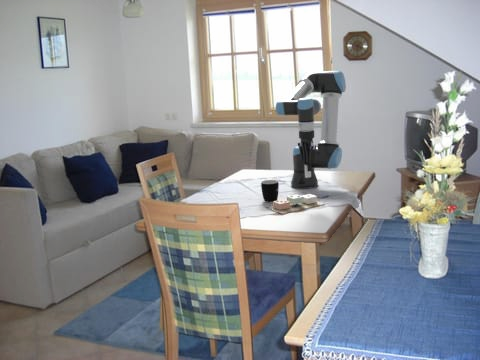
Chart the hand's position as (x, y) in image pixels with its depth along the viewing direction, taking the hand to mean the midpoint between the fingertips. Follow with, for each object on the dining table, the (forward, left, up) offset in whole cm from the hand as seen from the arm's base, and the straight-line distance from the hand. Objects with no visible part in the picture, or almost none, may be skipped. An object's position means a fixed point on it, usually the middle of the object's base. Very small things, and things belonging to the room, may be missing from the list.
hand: (308, 177), depth 279 cm
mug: (+12, -18, -14) cm, 26 cm away
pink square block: (+16, 0, -13) cm, 21 cm away
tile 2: (+8, 0, -12) cm, 14 cm away
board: (+8, 0, -14) cm, 16 cm away
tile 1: (0, 0, -13) cm, 13 cm away
